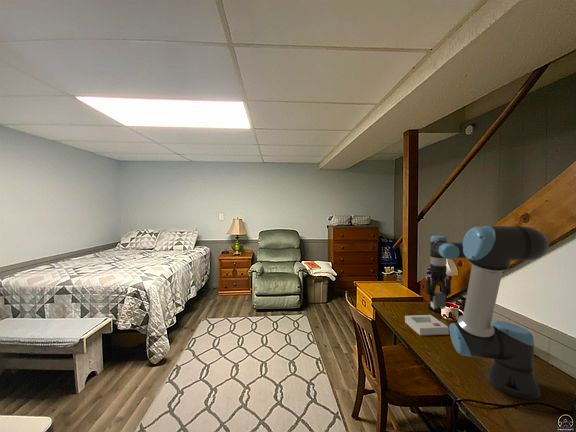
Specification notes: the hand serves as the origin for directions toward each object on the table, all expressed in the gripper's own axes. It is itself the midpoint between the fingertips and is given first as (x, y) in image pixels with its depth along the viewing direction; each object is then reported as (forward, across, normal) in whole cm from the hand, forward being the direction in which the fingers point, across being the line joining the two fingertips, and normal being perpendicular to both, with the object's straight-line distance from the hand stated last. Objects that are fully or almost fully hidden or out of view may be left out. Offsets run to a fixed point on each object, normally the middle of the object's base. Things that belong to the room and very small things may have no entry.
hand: (438, 306), depth 134 cm
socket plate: (+16, +2, -8) cm, 18 cm away
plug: (0, 0, 0) cm, 0 cm away
